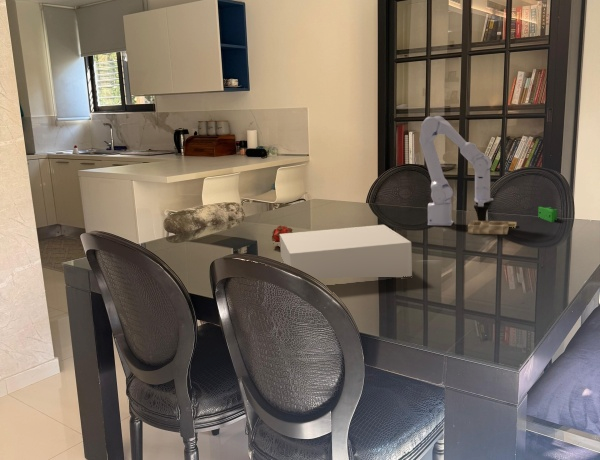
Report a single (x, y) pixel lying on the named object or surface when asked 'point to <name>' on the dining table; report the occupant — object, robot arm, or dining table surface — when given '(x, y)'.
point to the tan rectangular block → (512, 224)
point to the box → (348, 252)
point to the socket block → (488, 227)
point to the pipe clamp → (547, 214)
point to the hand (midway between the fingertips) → (482, 221)
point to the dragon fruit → (280, 232)
